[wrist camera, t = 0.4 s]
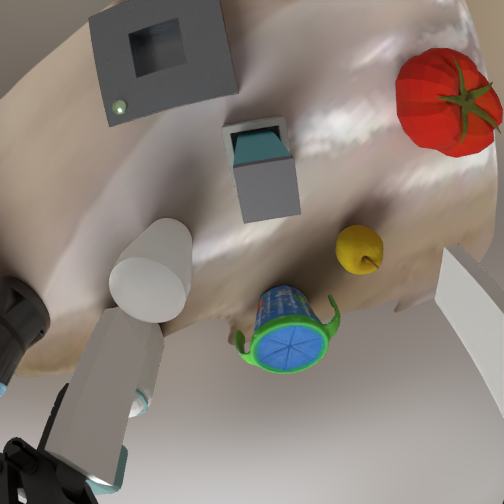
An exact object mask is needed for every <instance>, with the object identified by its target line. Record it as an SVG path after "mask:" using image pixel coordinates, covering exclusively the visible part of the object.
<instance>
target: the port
mask: <svg viewBox="0 0 504 504" xmlns="http://www.w3.org/2000/svg"><path fill="white" fill-rule="evenodd" d="M88 19H89V27H90V34H91V41H92V47H93V53H94V59H95V64H96V70H97V75H98V80H99V85H100V90H101V94H102V99H103V103H104V108H105V112H106V116H107V120H108V124H109V127H113V126H116V125H119V124H122V123H126V122H129V121H132V120H135V119H138V118H141V117H144V116H148V115H151V114H154V113H158V112H161V111H165V110H168V109H172V108H176V107H180V106H183V105H187V104H192V103H196V102H200V101H204V100H209V99H214V98H218V97H223V96H228V95H234V94H239V93H238V88H237V83H236V78H235V73H234V68H233V63H232V58H231V53H230V48H229V43H228V38H227V33H226V28H225V23H224V18H223V14H222V9H221V4H220V0H128V1H126V2H123V3H121V4H118V5H116V6H113V7H111V8H109V9H106V10H104V11H102V12H100V13H98V14H96V15H93V16H91V17H89V18H88Z"/></svg>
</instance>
